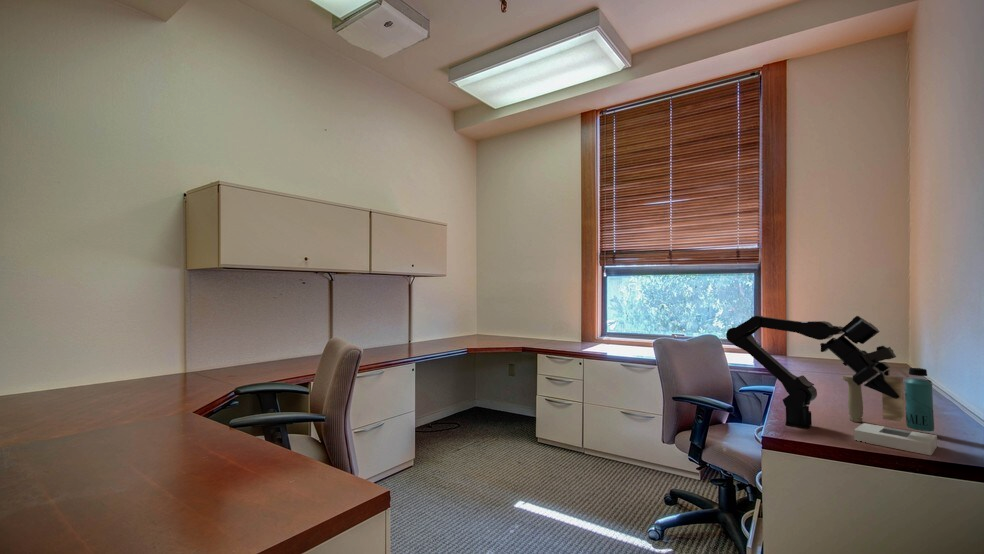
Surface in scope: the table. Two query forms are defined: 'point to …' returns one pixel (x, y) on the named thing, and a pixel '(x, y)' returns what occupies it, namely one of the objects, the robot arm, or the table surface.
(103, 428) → the table surface
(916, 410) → the beverage bottle
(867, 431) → the block
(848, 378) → the handle
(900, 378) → the plug
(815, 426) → the table surface
